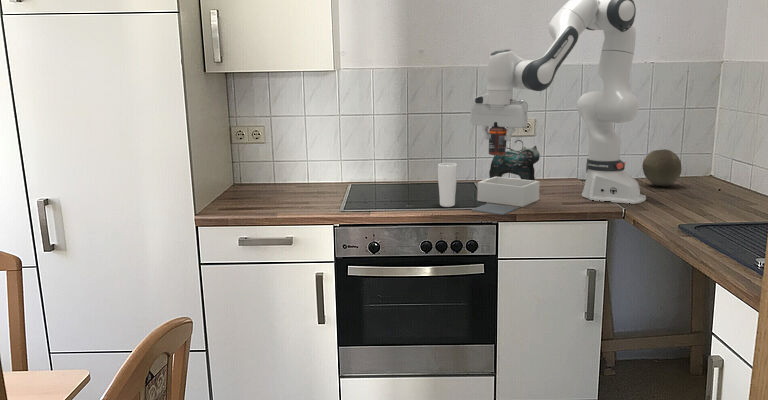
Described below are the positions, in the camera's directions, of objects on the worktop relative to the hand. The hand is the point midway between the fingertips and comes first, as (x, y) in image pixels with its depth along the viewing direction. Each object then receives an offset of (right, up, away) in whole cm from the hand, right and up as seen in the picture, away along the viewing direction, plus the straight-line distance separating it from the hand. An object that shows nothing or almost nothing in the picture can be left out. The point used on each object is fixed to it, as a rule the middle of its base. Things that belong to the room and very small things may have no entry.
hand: (497, 140), depth 211 cm
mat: (0, -24, +3) cm, 24 cm away
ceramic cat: (+13, -16, +38) cm, 43 cm away
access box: (+7, -21, +17) cm, 28 cm away
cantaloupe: (+73, -15, +38) cm, 83 cm away
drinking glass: (-16, -23, +10) cm, 30 cm away
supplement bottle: (0, -5, +1) cm, 5 cm away
